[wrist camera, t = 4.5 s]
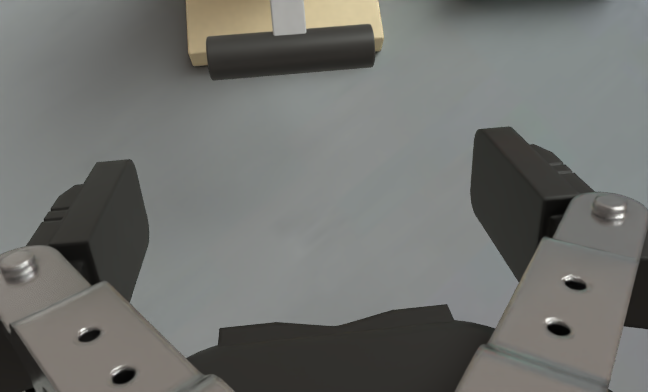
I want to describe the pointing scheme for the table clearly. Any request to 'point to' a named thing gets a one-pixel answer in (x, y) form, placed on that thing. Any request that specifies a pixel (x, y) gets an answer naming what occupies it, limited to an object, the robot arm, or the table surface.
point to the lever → (290, 47)
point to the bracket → (270, 19)
